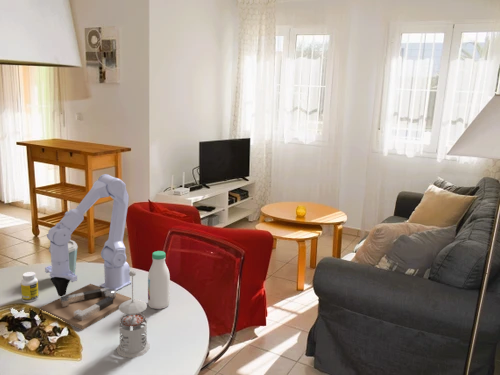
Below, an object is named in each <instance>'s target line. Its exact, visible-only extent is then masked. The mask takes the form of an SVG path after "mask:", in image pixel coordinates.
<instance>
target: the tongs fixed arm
mask: <svg viewBox="0 0 500 375" xmlns="http://www.w3.org/2000/svg"><path fill="white" fill-rule="evenodd" d="M112 304H113V298H111V297H107V298H105V299H103V300H101V301H99V302H97V303H95V304H94V305H93V306H91V307H89V308H87V309H85V310H83V311H82V310H79V309H78V310H76V311H75V312H74V318H77V319H79V320H84V319H86V318H88V317H90V316H91V315H93V314H95V313H97V312H99V311H101V310H103V309H104V308H106V307H108V306H110V305H112Z"/></svg>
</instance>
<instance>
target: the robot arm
mask: <svg viewBox="0 0 500 375" xmlns="http://www.w3.org/2000/svg"><path fill="white" fill-rule="evenodd" d="M93 182H94V183H93V185H92V187H91V188H90V190H89V191H88V192H87V193H86V195H85V196H84V197H83V199H82V200H81V201H80V203H79V204H78V205H77V206H76V207H75V208H71V209H69V210H68V211H67V210H66V212H65V213H64V215H63V217H62V218H61V220H60V221H59V222H56V224H55V225H54V226H52V227H51V228H50V229H49V230H48V231H47V234H46V237H47V239H48V240H49V244H50V245H49V247H50V246H51V248H50V250H51V253H50V260H51V261H50V264H51V265H49V266H46V267H44V272H45V274H47V273H49V277H50V281H51V282H52V284H53V285H54V287H55V290H56V292H57V295H58V297H63V296H65V295H67V294H66V293H67V290H68V287H69V283H70V282H71V283H75V282H77V281H78V275H77V274H76V273H75V274H74V273H73V272H72V271H71V270H70V269H69V252H68V242H69V241H70V240H72V239H71V238H72V234H73V232H75V230H76V229H77V227H78V228H79V225H81V223H82V222H83V221H84V220H85V219H84V217H85V216H84V214H86V213H87V212H88V211H89V210H90V209H91V207H92V206H93V205H94V204H95V203H97V201H98V200H100V199H101V198H109V197H110V198H111V199H112V200H113V203H112V204H113V205H112V209H111V218H110V225H109V233H108V238H107V239H106V241H105V242H104V245H103V247H102V249H101V250H100V251H101V252H100V257H101V259H103V260H104V263H103V264H104V266H103V268H104V270H103V271H104V273H103V274H104V283H102V284H100V285H99V287H101V288H108V287H109V289H110V288H111V289H115V290H116V292H117V291H119V290H121V289H122V288H124V287H126V286H128V285H130V284H132V280H131V276H129V273H130V271H131V268H130V265H129V263H128V262H127V259H128V258H127V254H126V248H127V247H126V246H125V244H124V236H125V228H126V220H127V214H128V207H129V199H130V196H129V193H128V191H127V188H126V187H127V184H126V183H125V182H124V181H123V180H122V179H121V178H118V177H114V176H112V175H110V174H108V173H104V174H101V175H100V176H99V177H98V179H96V181H93Z"/></svg>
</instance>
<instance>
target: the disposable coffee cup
mask: <svg viewBox="0 0 500 375" xmlns="http://www.w3.org/2000/svg"><path fill="white" fill-rule="evenodd" d="M50 248H51V246H50V245H49V247H48V252H49V253H50V254H51V250H50ZM78 248H79V246H78V243H76V241H75V240H72V239H70V241H69V242H68V252H69V269H70V270H71V271H72V272H73V273H74V274H75V275H76V268H77V267H76V266H77V256H78V254H77V253H78Z"/></svg>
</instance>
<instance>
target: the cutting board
mask: <svg viewBox="0 0 500 375" xmlns="http://www.w3.org/2000/svg"><path fill="white" fill-rule="evenodd" d="M96 289H103V287H100V285H99V286H98V285H95V284H92V283H89V284H87V285H85V286H83V287H80V288H78V289H77V290H76V289H75V290H74V291H71V292H70V293H68V294H66V295H64V296H68V295H73V294H78V293H83V292H86V291H91V290H96ZM103 299H104V296H102V297H98V298H93V299H88V300H82V301H77V302H72V303H69V306H65V307H62V304H61V297H59V298H57V299H55V300H53V301H50V302H49V303H46V304H45V305H42V306H40V307H39V310H40V309H41V310H43V311H46V312H48V313H50V314H52V315H54V316H56V317H58V318H60V319H62V320H63V321H65V322H67V323H66V324H68V323H69V324H68V325H70V326H72V327H74V328H77V329H79V330H81V331H82V330H85V329H88V327H90V326H92V325H94V324H95V323H97V322H99V321H101V320H102V319H105V317H108V316H109V315H111V314H113V313H114V312H116V311H118V310H119V306H120V305H121V304H122V303H123V302H125V301H128V300H132V297H130V296H127V295H124V294H122V293H118V292H116V298H114V299H113V304H112V305H110V306H108V307H106V308H104V309H103V310H101V311H99V312H97V313H95V314H93V315H91V316H90V317H88V318H86V319H84V320H79V319H77V318H74V312H75V311H76V310H78V309H79V310H82V311H83V310H85V309H87V308H89V307H91V306H93V305H94V304H95V303H97V302H99V301H101V300H103ZM63 321H62V322H63ZM65 322H64V323H65Z"/></svg>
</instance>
